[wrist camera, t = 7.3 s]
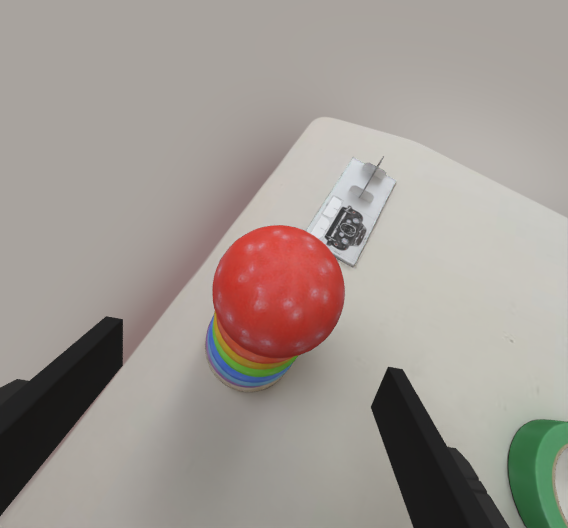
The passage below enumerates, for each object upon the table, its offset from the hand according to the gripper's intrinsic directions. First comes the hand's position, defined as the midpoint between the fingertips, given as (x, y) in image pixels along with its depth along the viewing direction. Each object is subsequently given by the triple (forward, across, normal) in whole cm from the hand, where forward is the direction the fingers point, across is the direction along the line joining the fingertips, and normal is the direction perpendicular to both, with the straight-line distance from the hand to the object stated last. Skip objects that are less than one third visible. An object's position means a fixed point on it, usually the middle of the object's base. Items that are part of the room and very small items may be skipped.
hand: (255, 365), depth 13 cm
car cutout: (+23, +9, +6) cm, 26 cm away
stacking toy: (+10, 0, -7) cm, 12 cm away
